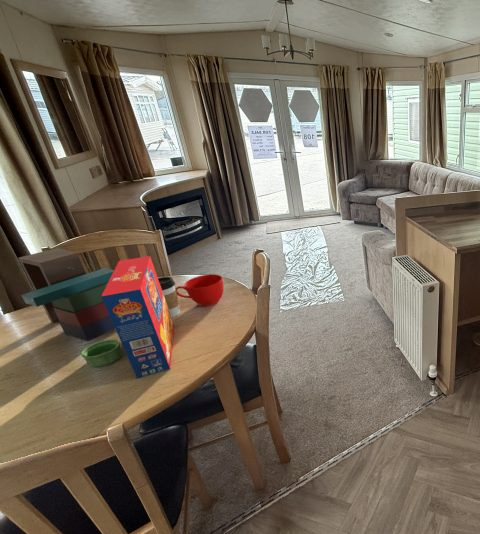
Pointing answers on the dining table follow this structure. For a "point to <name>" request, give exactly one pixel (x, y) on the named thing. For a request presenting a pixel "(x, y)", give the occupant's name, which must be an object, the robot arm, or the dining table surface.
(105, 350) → the ramekin
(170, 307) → the coffee cup
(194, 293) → the ceramic cup
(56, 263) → the walnut shelf
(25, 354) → the dining table surface
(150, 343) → the cereal box
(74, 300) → the book pile
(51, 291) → the teal bar
